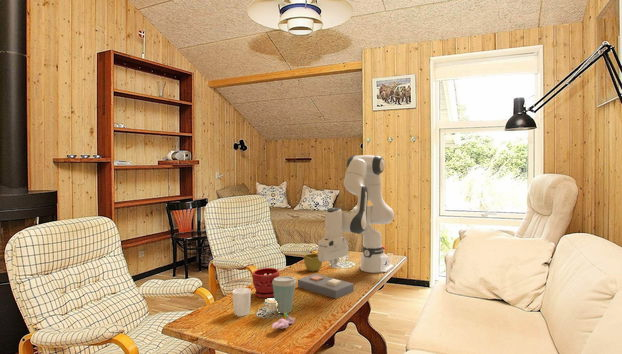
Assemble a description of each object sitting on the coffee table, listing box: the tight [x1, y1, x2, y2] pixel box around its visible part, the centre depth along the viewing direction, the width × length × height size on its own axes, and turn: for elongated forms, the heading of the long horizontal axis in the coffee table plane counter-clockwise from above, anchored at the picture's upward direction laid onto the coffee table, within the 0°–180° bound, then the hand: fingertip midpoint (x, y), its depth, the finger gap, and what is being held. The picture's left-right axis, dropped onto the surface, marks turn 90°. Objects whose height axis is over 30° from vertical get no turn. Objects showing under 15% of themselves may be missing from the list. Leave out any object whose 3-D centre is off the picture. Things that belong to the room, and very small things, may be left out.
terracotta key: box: [310, 276, 323, 281], centre depth 198 cm, size 5×5×3 cm
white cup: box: [231, 287, 252, 317], centre depth 163 cm, size 8×8×10 cm
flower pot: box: [303, 253, 323, 272], centre depth 228 cm, size 9×9×9 cm
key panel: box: [297, 273, 355, 300], centre depth 194 cm, size 14×26×4 cm, turn 47°
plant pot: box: [252, 267, 280, 299], centre depth 186 cm, size 13×13×12 cm
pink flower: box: [271, 312, 297, 330], centre depth 149 cm, size 6×6×15 cm
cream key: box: [327, 278, 341, 286], centre depth 190 cm, size 5×5×3 cm
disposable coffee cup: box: [272, 275, 297, 314], centre depth 165 cm, size 11×11×15 cm
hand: (333, 267), depth 189 cm, fingers closed
